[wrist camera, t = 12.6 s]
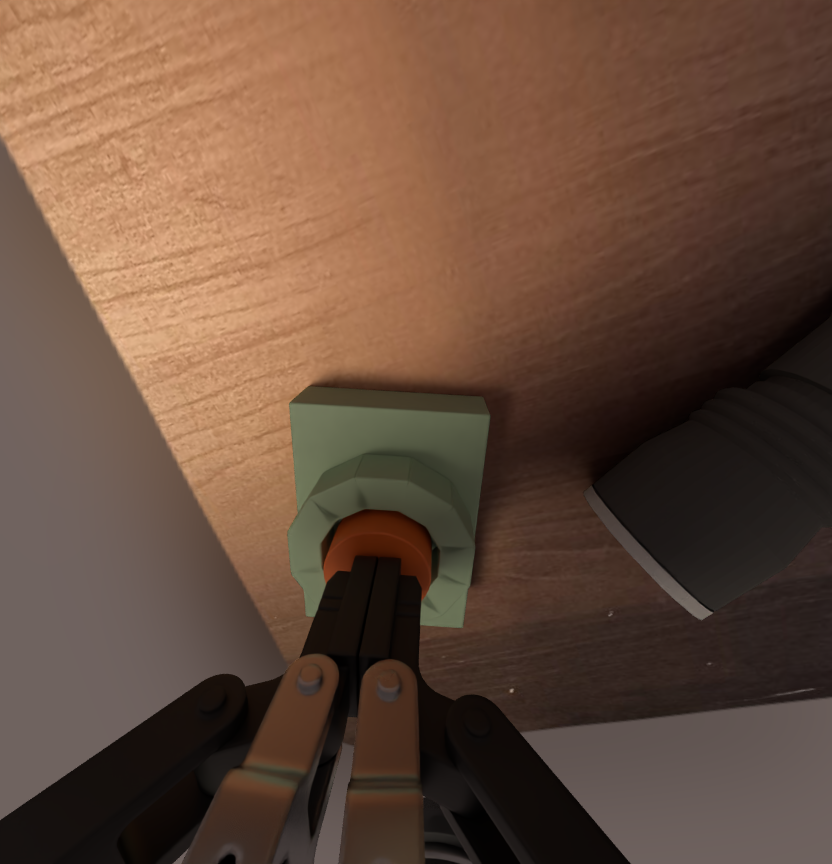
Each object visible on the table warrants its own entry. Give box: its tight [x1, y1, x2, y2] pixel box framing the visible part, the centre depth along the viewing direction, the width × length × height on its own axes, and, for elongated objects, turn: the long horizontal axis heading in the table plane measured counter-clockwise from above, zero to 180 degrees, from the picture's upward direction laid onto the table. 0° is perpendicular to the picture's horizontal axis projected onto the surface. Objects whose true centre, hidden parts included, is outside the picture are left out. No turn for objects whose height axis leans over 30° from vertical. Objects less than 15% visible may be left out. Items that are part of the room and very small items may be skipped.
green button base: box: [287, 386, 491, 628], centre depth 15 cm, size 10×7×4 cm
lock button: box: [323, 509, 432, 601], centre depth 14 cm, size 4×4×2 cm
